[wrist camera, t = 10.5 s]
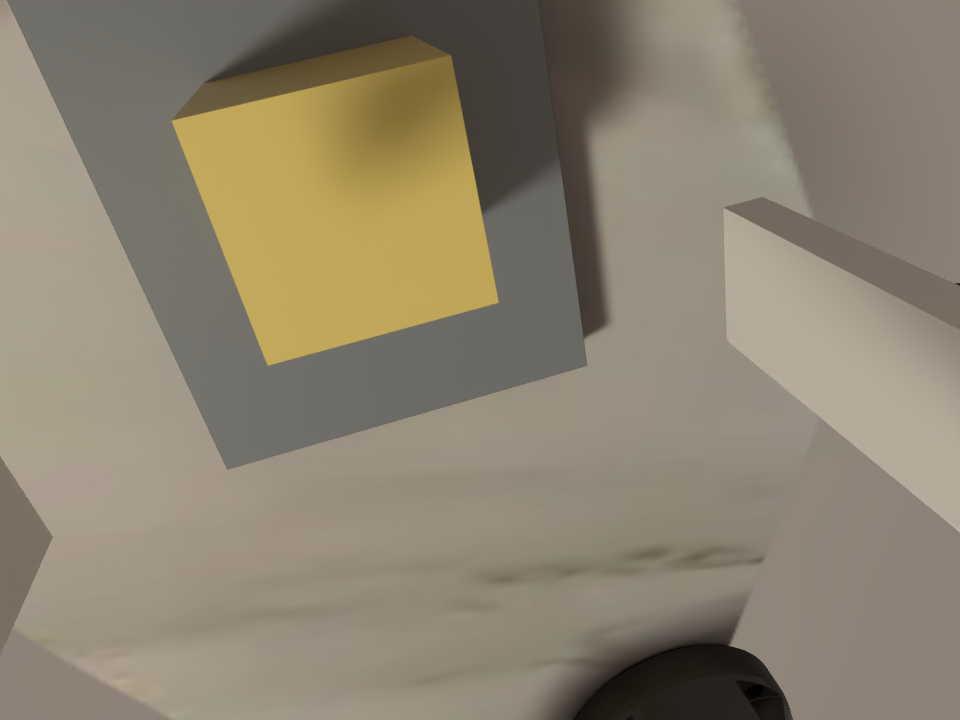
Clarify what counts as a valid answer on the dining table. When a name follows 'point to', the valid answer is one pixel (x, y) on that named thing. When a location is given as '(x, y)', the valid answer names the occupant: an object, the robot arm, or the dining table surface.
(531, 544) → the dining table surface
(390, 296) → the mustard yellow cube
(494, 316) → the board
